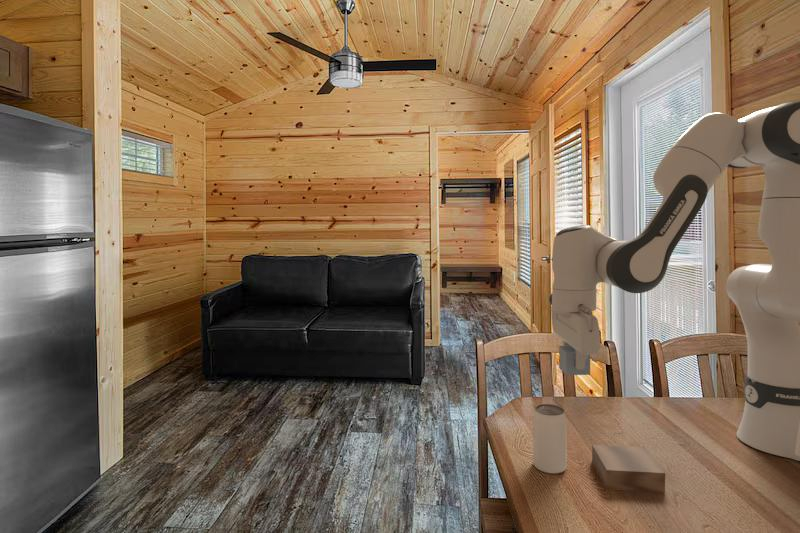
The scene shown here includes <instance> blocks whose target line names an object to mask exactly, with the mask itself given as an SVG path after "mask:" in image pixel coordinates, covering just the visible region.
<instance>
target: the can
mask: <svg viewBox="0 0 800 533" xmlns="http://www.w3.org/2000/svg"><path fill="white" fill-rule="evenodd" d="M567 427H568V426H567V416H566V414H565V410H564V408H563V407H562V406H559V405H557V404H556V405H555V404H550V403H542V404H538V405H536V406H535V407H534V412H533V415H532V462H533V466H534V467H535V468H536V469H537V470H538V471H540V472H542V473H545V474H549V475H558V474H561V473H564V471H566V469H567V467H568V466H567V464H568V463H567V460H568V459H567V454H568V453H567V448H568V447H567V444H568V443H567V438H568V437H567V436H568V434H567V430H568V429H567Z"/></svg>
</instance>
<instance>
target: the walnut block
mask: <svg viewBox="0 0 800 533" xmlns="http://www.w3.org/2000/svg"><path fill="white" fill-rule="evenodd" d="M591 449H592V450H591V462H592V464H593V467H594V468H595V471H597V474H598V476H599V477H600V480H601V481H602V483H603V485H604V487H605V489H606V490H611V491H612V490H614V491H630V492H631V491H633V492H646V493H648V492H650V493H666V472H665V470H663V469H662V467H661V466H660V464H658V462H657V461H656V460H655V458H654V457H653V456H652V455H651V453H649V451H648V450H647V448H646V447H645V446H631V445H629V446H627V445H625V446H624V445H607V444H606V445H603V444H592V446H591Z"/></svg>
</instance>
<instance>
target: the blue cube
mask: <svg viewBox="0 0 800 533" xmlns="http://www.w3.org/2000/svg"><path fill="white" fill-rule="evenodd" d="M558 357H559V358H558V361H559V362H558V364H559V365H558V366H559V367H558V368H559V369H560V371H561V372H562V373H563V374H564V375H566V376H584V375H585V376H588V375H589V376H591V355H587V358H586V361H585V369H577V368H576V367H575V366H574V359H576V353H575V349H574V348H573V347H572V346H563V345H559V346H558Z"/></svg>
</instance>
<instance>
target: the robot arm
mask: <svg viewBox="0 0 800 533" xmlns="http://www.w3.org/2000/svg"><path fill="white" fill-rule="evenodd" d="M759 166H760V167H761V168H762V170H763V173H764V176H765V182H764V183H765V184H764V188H763V192H762V197H761V198H762V200H761V206H760V211H759V212H760V213H759V221H758V228H757V235H758V237H759V239H760V241H762V243H763V244H764V245H766V248H767V250H768V251H769V256H770V261H771V262H770V263H771V264H770V263H756V264H754V263H753V264H748V265H743V266H740V267H737V268H736V269H734V270H733V271H732V272H731V273H729V275H728V277H727V279H726V283H725V290H726V294H727V296H728V297H729V299H730V300H731V301H732V302H733V303H734V305H735V307H736V308H737V311H738V313H739V316H740V318H741V319H740V320H741V322H742V325H743V327H744V328H743V329H744V332H745V336H746V342H747V374H745V375H744V385H743V386H744V390H743V391H744V398H745V401H744V408H743V414H742V417H741V420H740V424H739V427H738V429H737V432H736V437H737V438H738V440H739V441H740V442H743V443H744V444H746V445H748V446H749V447H752V449H756V450H759V451H760V452H765V453H767V454H771V455H775V456H778V457H782V458H786V459H787V458H788V459H791V460H794V461H797V462H800V323H799V322H800V100H797V101H796V100H795V101H788V102H783V103H781V104H778V105H776V106H771V107H767V108H764V109H761V110H758V111H755V112H753V113H751V114H749V115H746V116H744V117H742V118H739V119H737V118H736V117H734V116H732V115H730V114H727V113H723V112H712V113H711V112H710V113H707V114H705V115H703V116H702V117H700V118H699V119H698V120H696V121H695V122H694V123H693V124H692V125H691V126H690V127H688V129H687V130H686V131H685V132H683V134H682V135H681V136H680V137H678V139H677V140H676V141H675V142H674V143H673V145H672V146H671V147H670V149H669V150H668V151H667V152H666V154H665V155H664V156H663V157H662V158H661V160H660V162H659V163H658V165H657V166H656V167H657V168H656V169H655V171H654V173H653V175H652V176H653V178H652V179H653V180H652V181H653V185H654V187H655V189H656V192H658V193H659V194H660V195H661V196H662V201H661V204H660V206H659V207H658V208H657V210H656V211H655V213H654V214H653V216H652V217H651V219H650V220H649V221H648V223H647V225H646V226H645V227H644V229H643V231H642V232H641V233H640V234H639V235H636V237H634V238H632V239H629V240H621V239H616V238H614V237H611V236H608V235H606V234H603V233H602V232H599V231H598V230H596V229H595V228H594V227H593V226H592V225H589V224H588V225H586V224H582V225H578V226H577V225H576V226H570V227H567V228H563V229H561V230H559V231H558V232H557V233H556V234H555V237H554V239H553V245H552V255H551V256H552V257H551V258H552V259H551V260H552V261H551V264H552V265H551V269H552V272H553V283H552V288H551V289H552V290H551V291H552V293H550V294H548V303H549V305H550V306H551V307H550V311H551V312H550V313H551V325H552V330H553V333H554V334H555V335H556V336H557V337H558V338H560V339H561V342H562V346H572V347H573V348H574V349H575V353H576V359H574V366H575V367H576V368H577V369H585V361H586V358H587V355H590V356H591V355H594V356H595V355H599V353H600V350H601V336H600V334H601V333H600V324H599V320H598V318H597V317H596V316H595V315H593V312H595V311H597V286H598V284H599V283H604V284H607V285H609V286H613V287H617V288H619V289H620V290H623V291H624V292H627V293H630V294H631V293H632V294H643V293H646V292H649V291H651V290H653V289H654V288H656V287H658V285H659V284H661V282H662V281H663V279H664V278H665V275H666V273H667V269H668V267H669V263H670V259H671V256H672V254H673V252H674V250H675V249H676V247H677V246H678V244H679V243H680V241H681V240H682V238H683V236H684V235H685V233H686V232H687V231H688V229H689V228H690V226H691V224H692V222H693V221H694V220H695V218H696V217H697V215H698V214H699V212H700V210H701V209H702V207H703V205H704V204H705V201H706V199H707V197H708V193H709V192H710V190H711V189H712V187H713V186H714V185H715V183H716V182H717V181H718V179H719V178H720V177H721V176H722V174H723V173H724V172H725V170H726V169H727V168H731V169H747V168H749V167H759Z"/></svg>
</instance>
